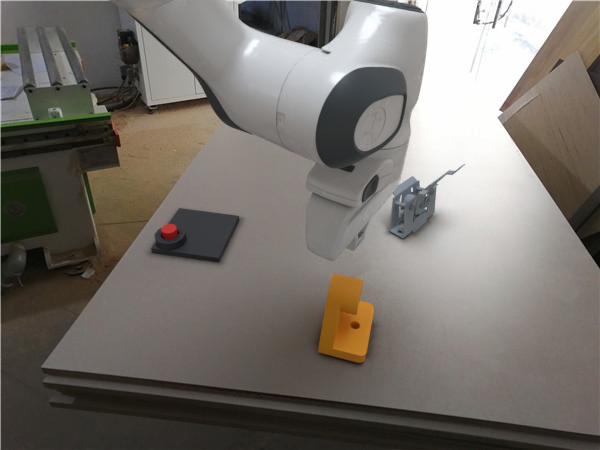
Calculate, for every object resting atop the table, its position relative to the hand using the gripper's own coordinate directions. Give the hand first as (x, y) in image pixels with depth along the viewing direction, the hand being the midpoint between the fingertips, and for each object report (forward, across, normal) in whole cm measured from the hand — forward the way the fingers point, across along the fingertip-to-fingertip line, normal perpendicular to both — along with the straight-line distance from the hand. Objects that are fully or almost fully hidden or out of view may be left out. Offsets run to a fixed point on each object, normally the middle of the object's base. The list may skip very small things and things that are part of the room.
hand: (353, 243), depth 56 cm
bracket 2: (+19, -35, 0) cm, 40 cm away
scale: (+19, -4, -37) cm, 42 cm away
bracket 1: (+19, 0, +1) cm, 19 cm away
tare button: (+16, +1, -39) cm, 42 cm away
